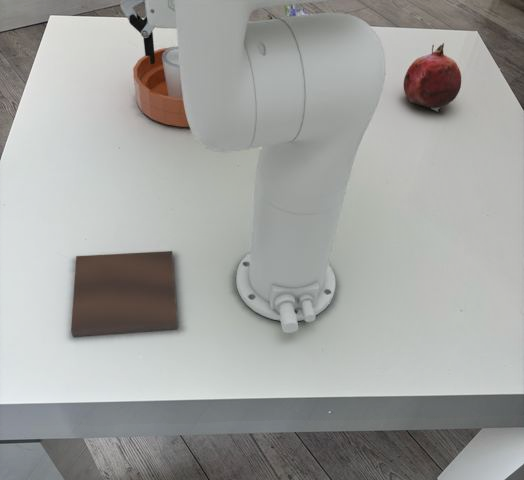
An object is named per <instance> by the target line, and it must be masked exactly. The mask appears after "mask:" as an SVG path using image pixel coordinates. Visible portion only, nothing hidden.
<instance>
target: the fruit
mask: <svg viewBox="0 0 524 480" xmlns="http://www.w3.org/2000/svg"><path fill="white" fill-rule="evenodd" d="M434 46H435V44H432V47H431V53H429V54H426V55H423V56H420V57H417V58H416V59H415V60H414V61H413V62H412V63H411V64H410V65H409V67H408V69H407V71H406V73H405V75H404V78H403V92H404V93H405V96H406V98H407V99H408V101H409V102H411V103H413V104H416V105H419V106H422V107H425V108H428V109H430V110H432V111H435V112H437V113H440V109H441V108H442V107H444V106H447V105H449V104H450V103H451V102H453V101H454V100H455V99H456V98H457V96H458V94H459V93H460V90H461V87H462V73H461V70H460V68H459V65H458V64H457V61H455V60H454V59H453V58H452V57H449V56H447V55H445V54H444V48H445V42H443V43H442V44H439V46H438V47H437V48H436V49H435V50H434Z"/></svg>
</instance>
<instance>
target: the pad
mask: <svg viewBox="0 0 524 480" xmlns="http://www.w3.org/2000/svg"><path fill="white" fill-rule="evenodd" d="M74 267H75V269H74V282H73V297H72V313H71V326H70V327H71V328H70V334H71V336H72V338H75V337H87V336H88V337H90V336H103V335H117V334H129V333H130V334H131V333H145V332H156V331H171V330H173V331H174V330H178V313H177V299H176V286H175V283H176V282H175V270H174V256H173V250H165V251H163V250H162V251H151V252H150V251H147V252H129V253H109V254H90V255H76V256H75V266H74Z"/></svg>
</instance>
